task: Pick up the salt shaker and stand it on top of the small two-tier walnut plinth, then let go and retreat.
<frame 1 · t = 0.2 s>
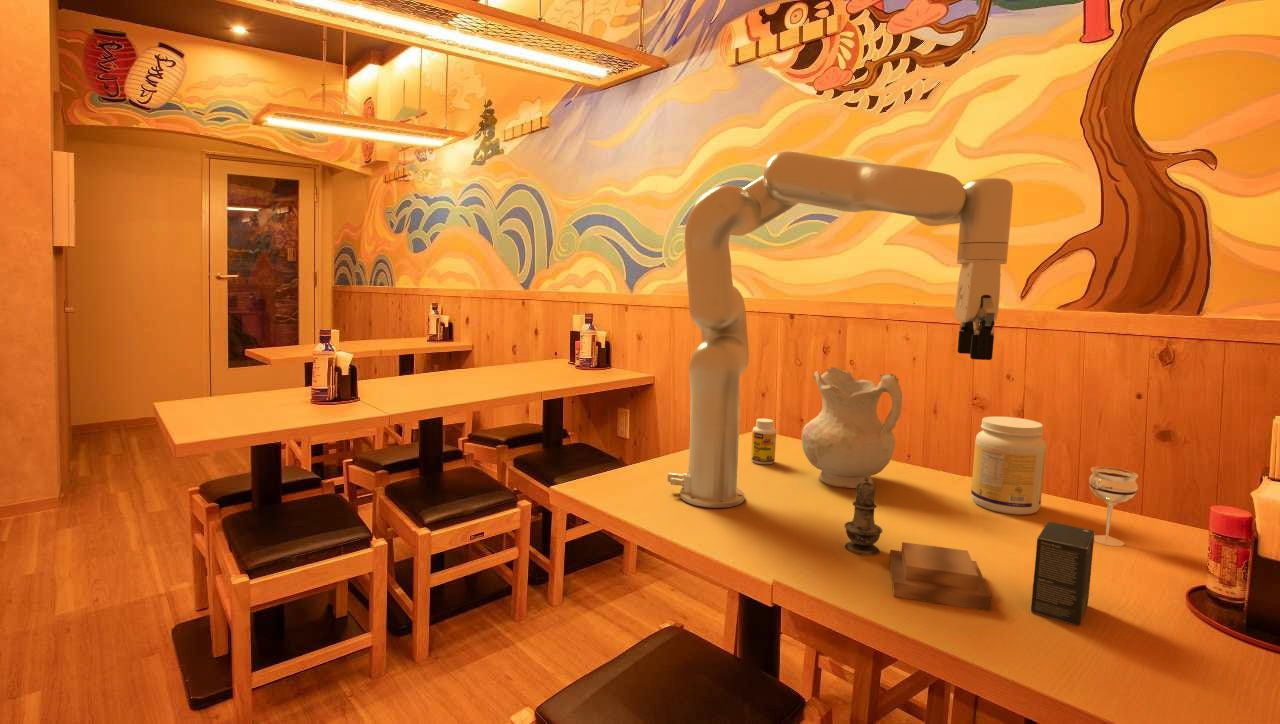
hand: (973, 356, 114), 31 cm above the table, tool pointing down, fingers open, 9 cm apart
salt shaker: (861, 550, 108), on the table
wineglass: (1106, 541, 114), on the table
plinth: (935, 584, 96), on the table
supplement bottle: (762, 462, 159), on the table
box: (1059, 610, 89), on the table
supplement tub: (1004, 506, 131), on the table
ceramic pitcher: (850, 482, 145), on the table
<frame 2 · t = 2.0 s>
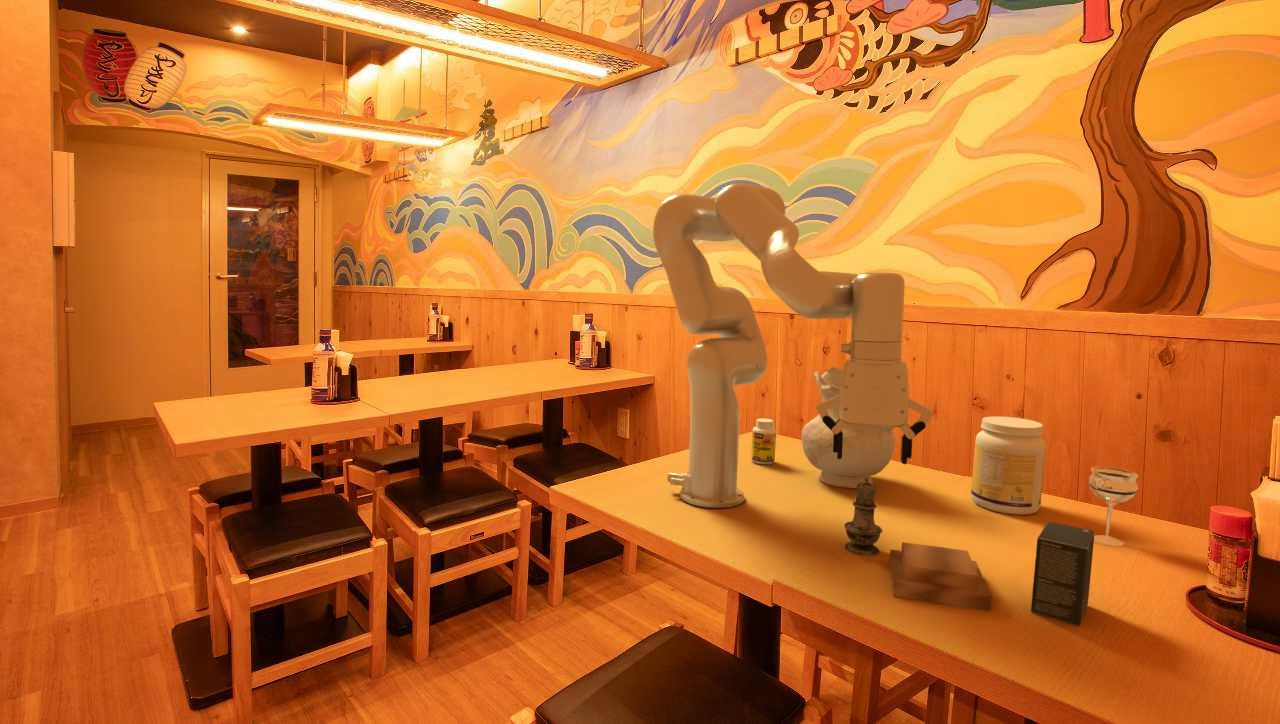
hand: (871, 459, 106), 15 cm above the table, tool pointing down, fingers open, 9 cm apart
nothing on the table moved.
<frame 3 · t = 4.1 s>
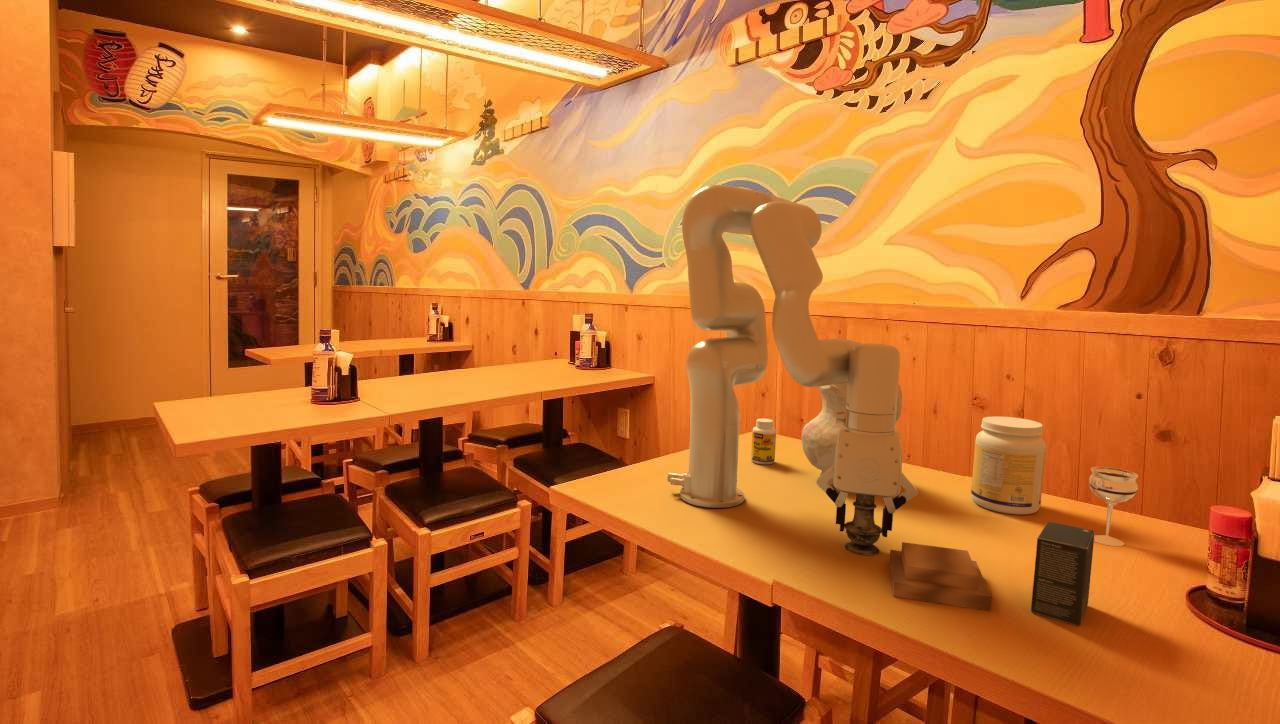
hand: (863, 530, 108), 3 cm above the table, tool pointing down, fingers closed on salt shaker, 5 cm apart
salt shaker: (861, 549, 108), on the table, touching gripper
everything else where it was.
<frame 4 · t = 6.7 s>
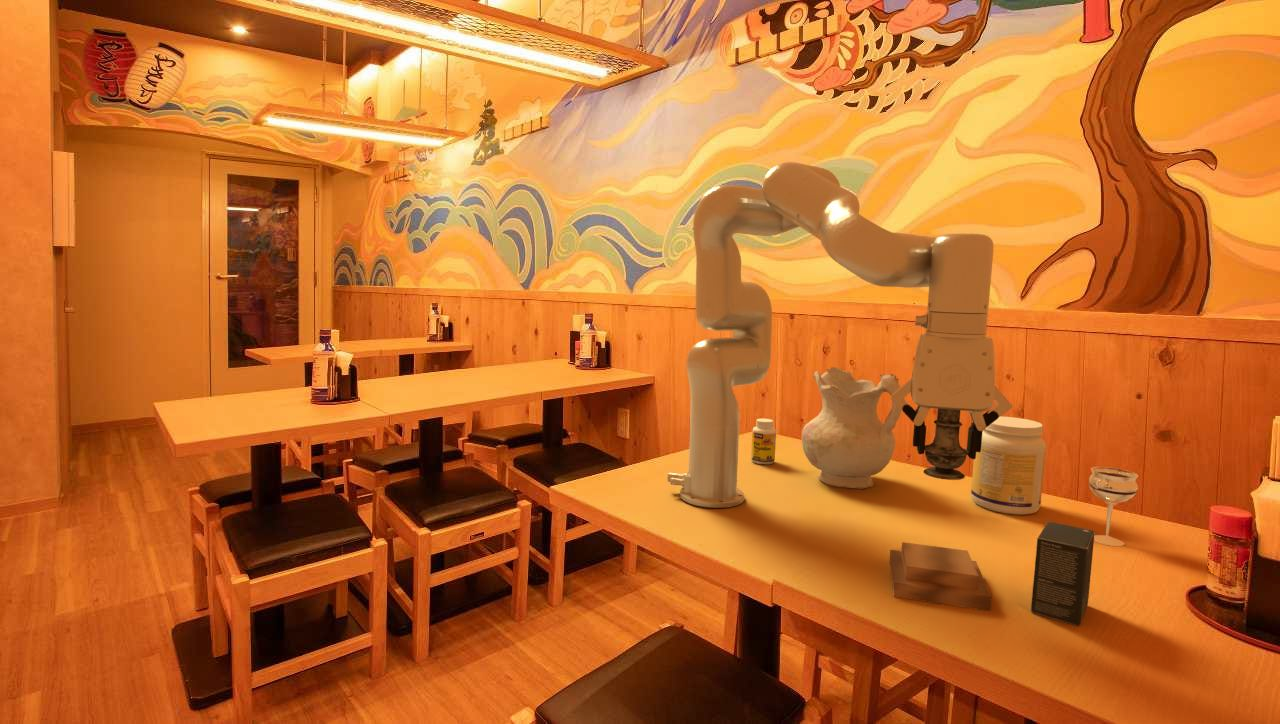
hand: (945, 453, 93), 19 cm above the table, tool pointing down, fingers closed on salt shaker, 5 cm apart
salt shaker: (943, 475, 94), point 16 cm above the table, touching gripper
everything else where it was.
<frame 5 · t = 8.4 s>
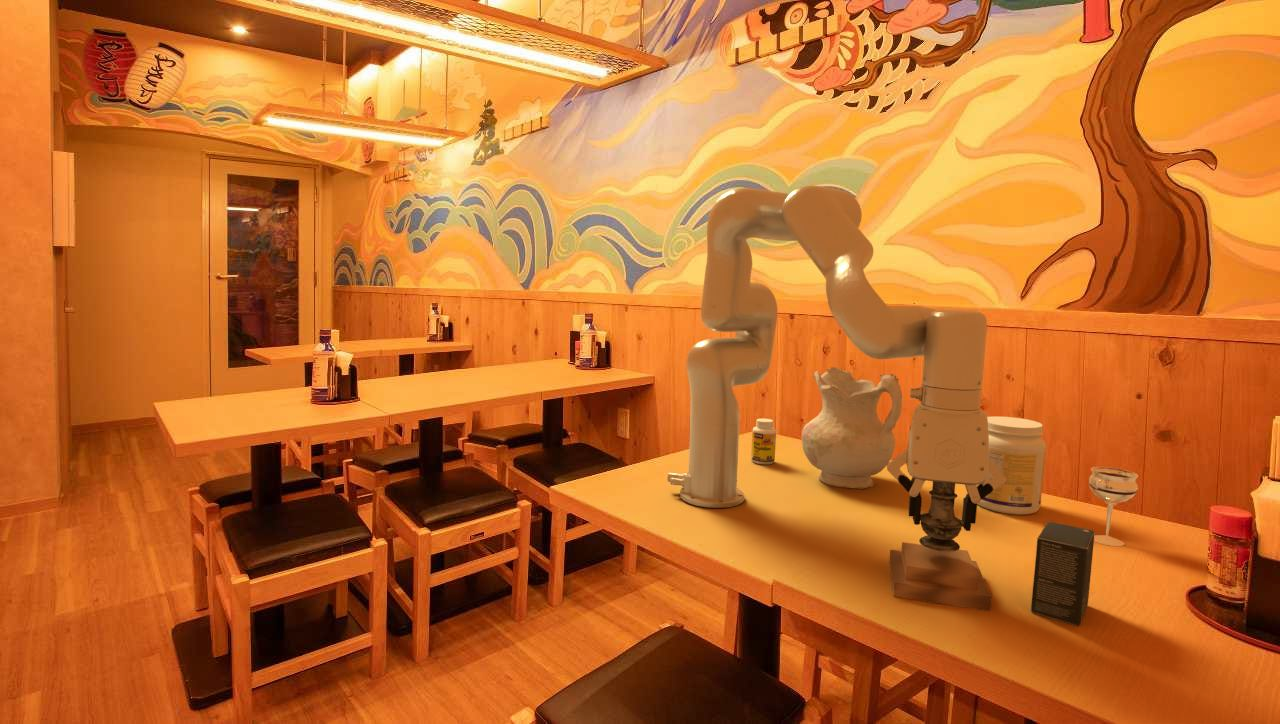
hand: (940, 523, 94), 9 cm above the table, tool pointing down, fingers closed on salt shaker, 5 cm apart
salt shaker: (939, 545, 95), point 6 cm above the table, touching gripper
everything else where it was.
when the fingers open (7 cm above the table, at t = 9.7 s): salt shaker stays where it is, resting on plinth.
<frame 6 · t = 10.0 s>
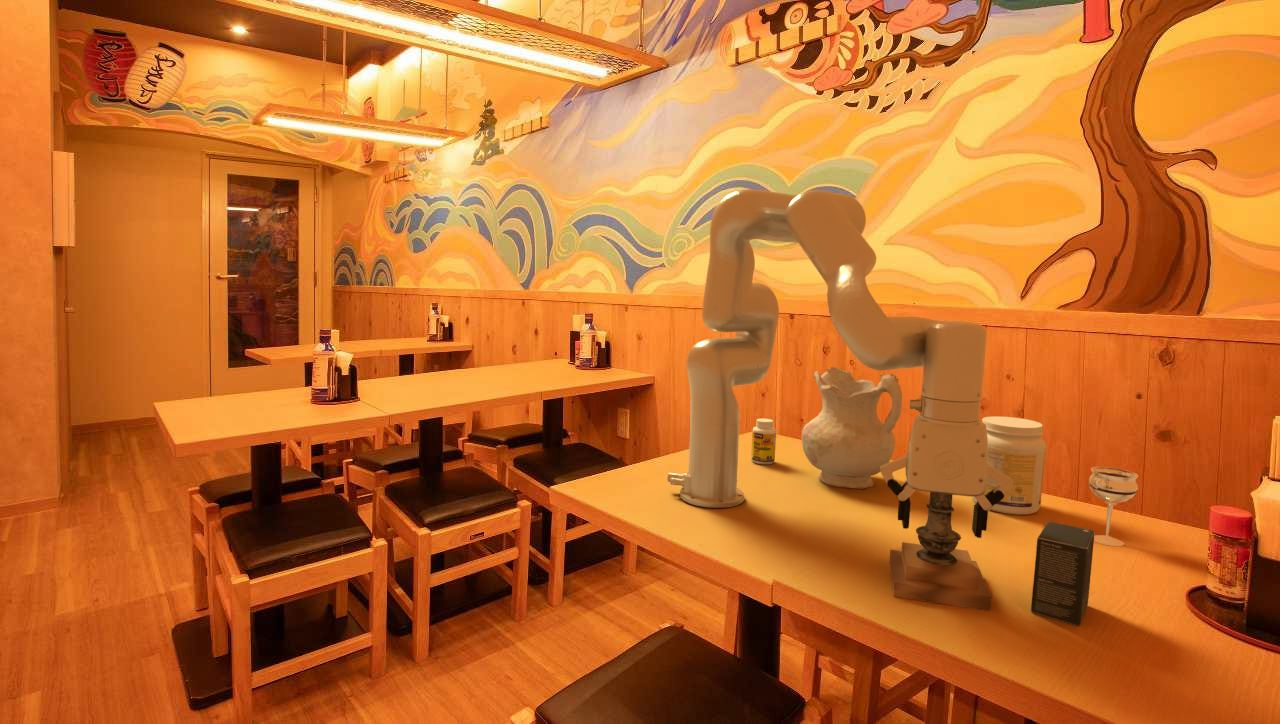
hand: (940, 529, 95), 8 cm above the table, tool pointing down, fingers open, 9 cm apart
salt shaker: (936, 558, 95), point 4 cm above the table, touching plinth
everything else where it was.
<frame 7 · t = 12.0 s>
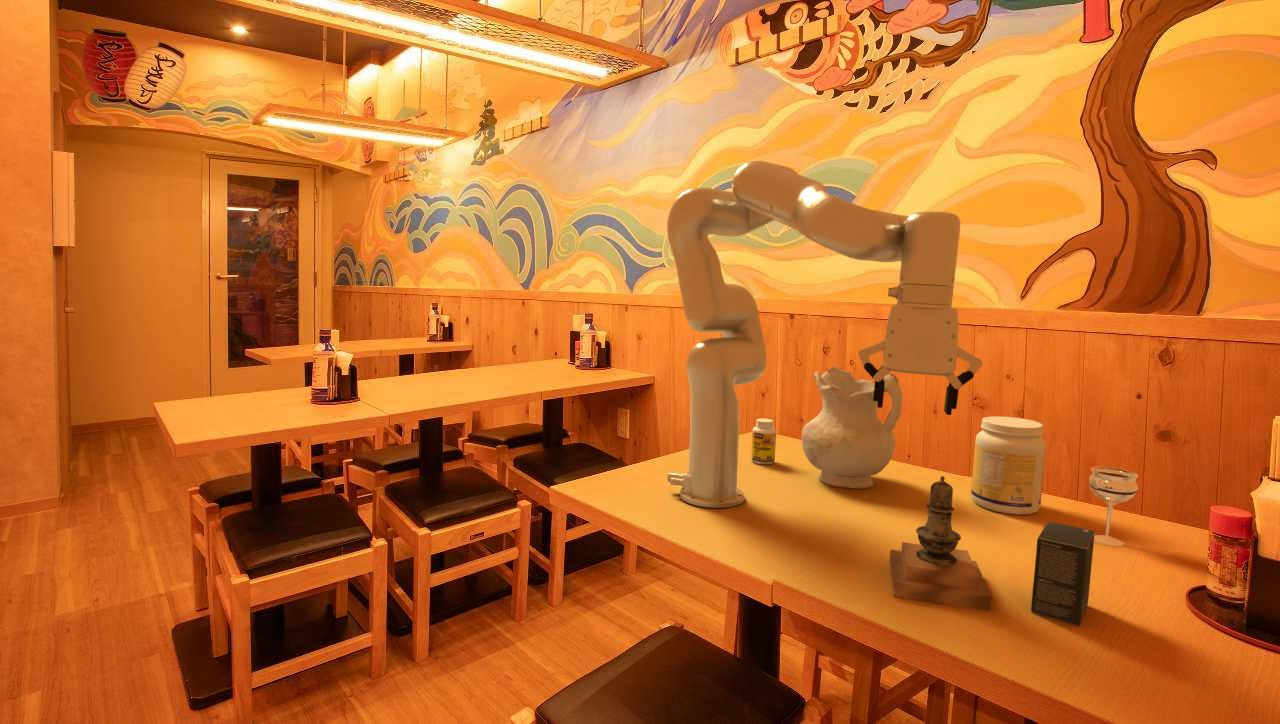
hand: (913, 409, 102), 24 cm above the table, tool pointing down, fingers open, 9 cm apart
nothing on the table moved.
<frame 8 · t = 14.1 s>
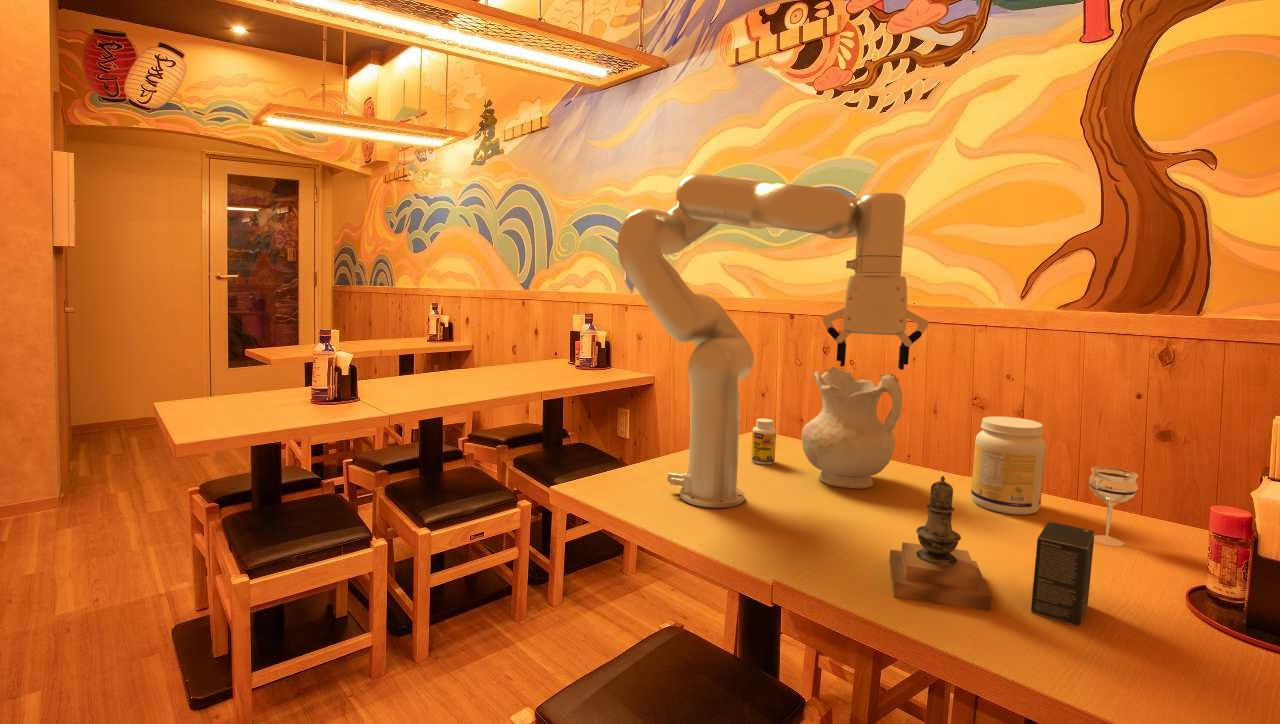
hand: (871, 367, 116), 28 cm above the table, tool pointing down, fingers open, 9 cm apart
nothing on the table moved.
at the end: salt shaker inside the target area on the plinth (0.2 cm from its centre), point 3.8 cm above the plinth's base; salt shaker tilted 0°; the gripper is holding nothing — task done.
